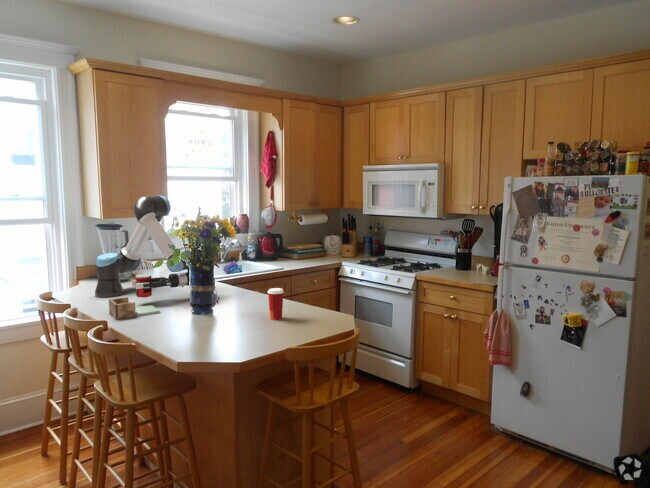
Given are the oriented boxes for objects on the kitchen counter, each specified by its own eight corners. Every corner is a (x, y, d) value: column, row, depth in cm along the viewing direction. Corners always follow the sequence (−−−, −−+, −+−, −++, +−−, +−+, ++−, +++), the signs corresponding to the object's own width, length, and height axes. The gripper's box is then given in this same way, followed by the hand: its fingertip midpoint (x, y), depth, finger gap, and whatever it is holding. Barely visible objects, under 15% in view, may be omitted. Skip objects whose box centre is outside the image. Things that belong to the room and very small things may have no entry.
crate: (151, 307, 257) (150, 293, 256) (159, 312, 246) (159, 299, 245) (109, 313, 246) (108, 299, 245) (116, 319, 234) (115, 305, 233)
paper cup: (286, 317, 238) (286, 288, 236) (280, 321, 231) (279, 291, 229) (271, 315, 241) (271, 287, 239) (264, 319, 233) (264, 290, 232)
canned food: (138, 294, 266) (137, 274, 265) (153, 294, 267) (153, 274, 265) (134, 297, 259) (133, 276, 257) (149, 297, 259) (149, 276, 258)
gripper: (183, 290, 264) (139, 295, 251) (171, 283, 281) (129, 288, 268) (183, 276, 263) (139, 281, 250) (171, 270, 280) (128, 274, 267)
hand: (134, 284), depth 259 cm, fingers closed on canned food, 8 cm apart
